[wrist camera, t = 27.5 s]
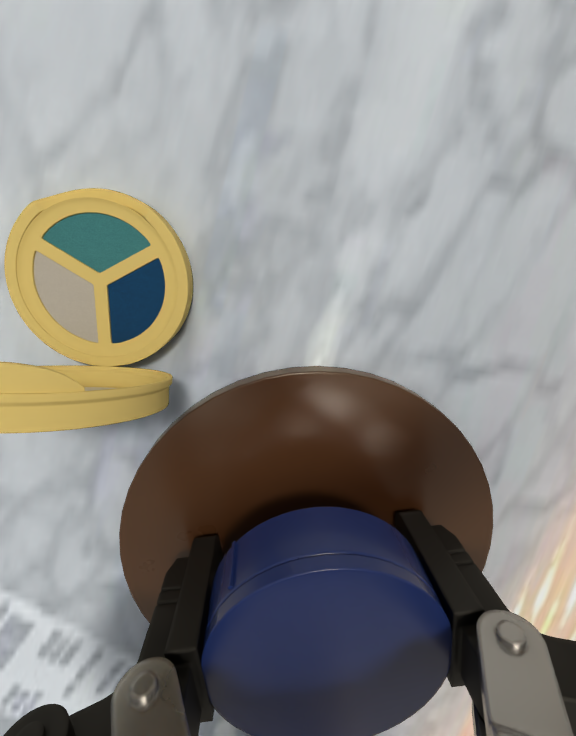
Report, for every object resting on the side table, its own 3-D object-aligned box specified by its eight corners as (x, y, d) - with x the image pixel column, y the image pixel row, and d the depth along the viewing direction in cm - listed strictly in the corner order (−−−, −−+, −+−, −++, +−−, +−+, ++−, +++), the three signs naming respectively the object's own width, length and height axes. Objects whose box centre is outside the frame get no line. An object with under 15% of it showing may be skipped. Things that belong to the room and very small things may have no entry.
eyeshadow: (192, 196, 9) (114, 122, 4) (194, 383, 11) (136, 479, 6) (10, 183, 9) (-280, 88, 4) (35, 378, 10) (-163, 473, 6)
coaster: (553, 504, 12) (567, 516, 12) (328, 713, 15) (330, 731, 14) (281, 280, 10) (282, 280, 9) (54, 571, 12) (44, 586, 11)
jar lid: (165, 605, 10) (143, 686, 8) (310, 462, 9) (322, 518, 7) (321, 690, 11) (332, 775, 9) (462, 577, 10) (505, 648, 8)
